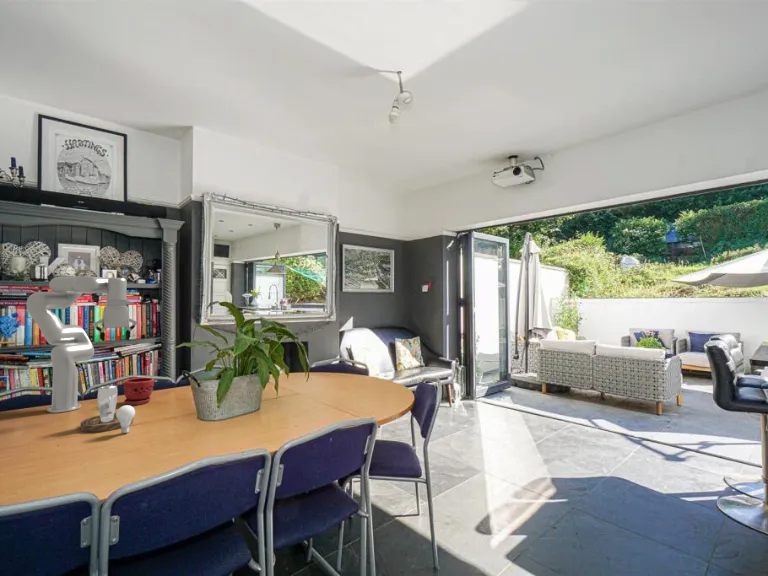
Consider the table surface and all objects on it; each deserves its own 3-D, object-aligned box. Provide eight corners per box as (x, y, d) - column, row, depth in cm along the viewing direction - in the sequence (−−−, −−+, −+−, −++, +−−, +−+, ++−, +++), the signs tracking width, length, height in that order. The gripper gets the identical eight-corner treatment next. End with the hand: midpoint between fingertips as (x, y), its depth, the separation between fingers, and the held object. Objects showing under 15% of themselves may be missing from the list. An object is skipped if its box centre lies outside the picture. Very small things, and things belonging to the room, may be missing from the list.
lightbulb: (138, 431, 155) (139, 404, 155) (123, 436, 149) (124, 408, 149) (127, 429, 157) (127, 402, 157) (111, 434, 151) (112, 406, 151)
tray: (76, 425, 162) (76, 419, 162) (126, 416, 175) (126, 410, 175) (86, 435, 150) (86, 428, 150) (138, 424, 163) (139, 418, 163)
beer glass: (106, 425, 158) (107, 389, 159) (92, 424, 160) (93, 388, 160) (120, 420, 165) (122, 385, 166) (107, 419, 166) (108, 385, 167)
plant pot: (142, 406, 191) (143, 382, 192) (117, 406, 192) (117, 381, 192) (158, 399, 204) (159, 377, 205) (134, 399, 205) (135, 376, 205)
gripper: (135, 303, 190) (134, 338, 189) (92, 303, 177) (90, 340, 176) (139, 303, 185) (138, 339, 184) (96, 303, 172) (94, 342, 171)
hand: (115, 340), depth 180 cm, fingers open, 9 cm apart
